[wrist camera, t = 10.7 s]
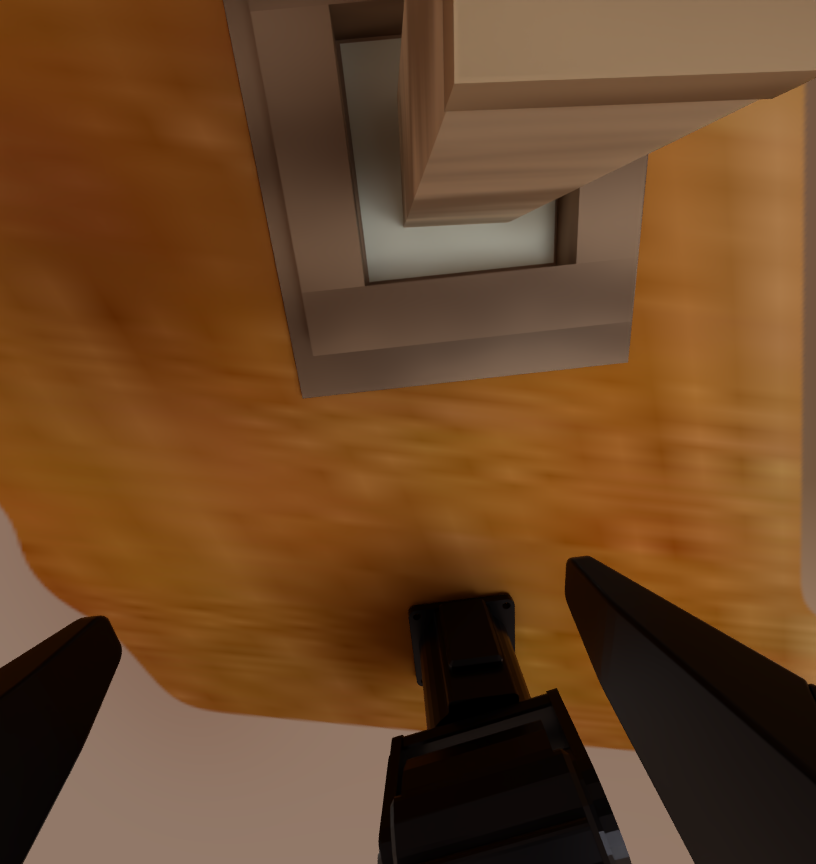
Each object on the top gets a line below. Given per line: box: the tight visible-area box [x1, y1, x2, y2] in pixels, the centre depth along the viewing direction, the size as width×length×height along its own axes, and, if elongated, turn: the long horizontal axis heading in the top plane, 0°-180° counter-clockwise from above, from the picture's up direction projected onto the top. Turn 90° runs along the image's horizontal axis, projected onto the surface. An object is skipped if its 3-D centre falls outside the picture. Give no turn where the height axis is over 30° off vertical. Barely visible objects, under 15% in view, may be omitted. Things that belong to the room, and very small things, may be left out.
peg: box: [397, 0, 816, 228], centre depth 10 cm, size 5×5×13 cm
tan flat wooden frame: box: [223, 0, 648, 398], centre depth 15 cm, size 18×16×2 cm
